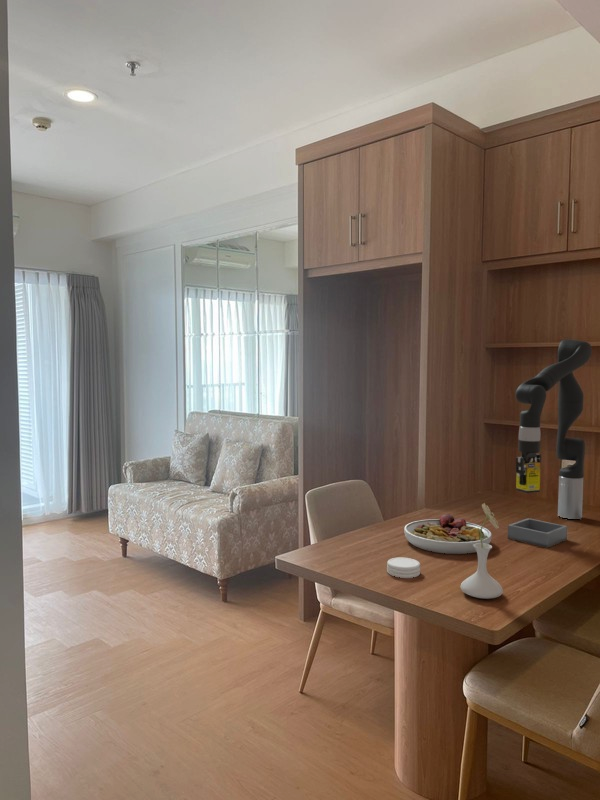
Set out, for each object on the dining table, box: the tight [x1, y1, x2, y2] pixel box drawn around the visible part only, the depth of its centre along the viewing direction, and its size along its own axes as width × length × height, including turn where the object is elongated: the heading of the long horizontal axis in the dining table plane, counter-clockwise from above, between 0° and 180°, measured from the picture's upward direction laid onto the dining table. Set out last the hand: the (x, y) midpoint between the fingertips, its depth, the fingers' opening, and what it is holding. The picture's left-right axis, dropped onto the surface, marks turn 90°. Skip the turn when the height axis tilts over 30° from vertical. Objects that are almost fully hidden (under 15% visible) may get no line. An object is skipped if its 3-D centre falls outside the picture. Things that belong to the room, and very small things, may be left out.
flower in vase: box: [460, 502, 504, 600], centre depth 169 cm, size 13×11×25 cm
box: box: [507, 517, 568, 549], centre depth 222 cm, size 15×15×5 cm
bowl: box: [403, 513, 492, 555], centre depth 217 cm, size 30×30×8 cm
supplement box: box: [515, 462, 541, 494], centre depth 225 cm, size 6×6×11 cm
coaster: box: [386, 556, 421, 579], centre depth 186 cm, size 10×10×4 cm
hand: (528, 483), depth 225 cm, fingers closed on supplement box, 7 cm apart
